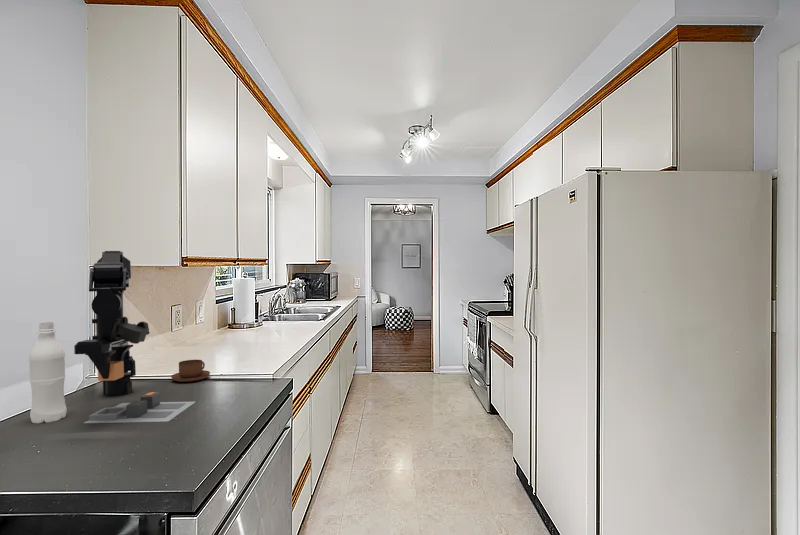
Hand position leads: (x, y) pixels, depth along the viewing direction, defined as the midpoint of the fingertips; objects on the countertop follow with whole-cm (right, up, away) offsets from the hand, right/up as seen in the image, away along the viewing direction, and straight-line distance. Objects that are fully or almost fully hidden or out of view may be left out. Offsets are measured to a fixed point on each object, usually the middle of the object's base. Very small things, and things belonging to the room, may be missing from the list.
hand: (111, 376), depth 118 cm
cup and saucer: (+1, -11, +43) cm, 44 cm away
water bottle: (-14, -12, -1) cm, 19 cm away
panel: (+6, -11, +3) cm, 13 cm away
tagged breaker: (+6, -9, +7) cm, 13 cm away
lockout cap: (0, -1, 0) cm, 0 cm away
